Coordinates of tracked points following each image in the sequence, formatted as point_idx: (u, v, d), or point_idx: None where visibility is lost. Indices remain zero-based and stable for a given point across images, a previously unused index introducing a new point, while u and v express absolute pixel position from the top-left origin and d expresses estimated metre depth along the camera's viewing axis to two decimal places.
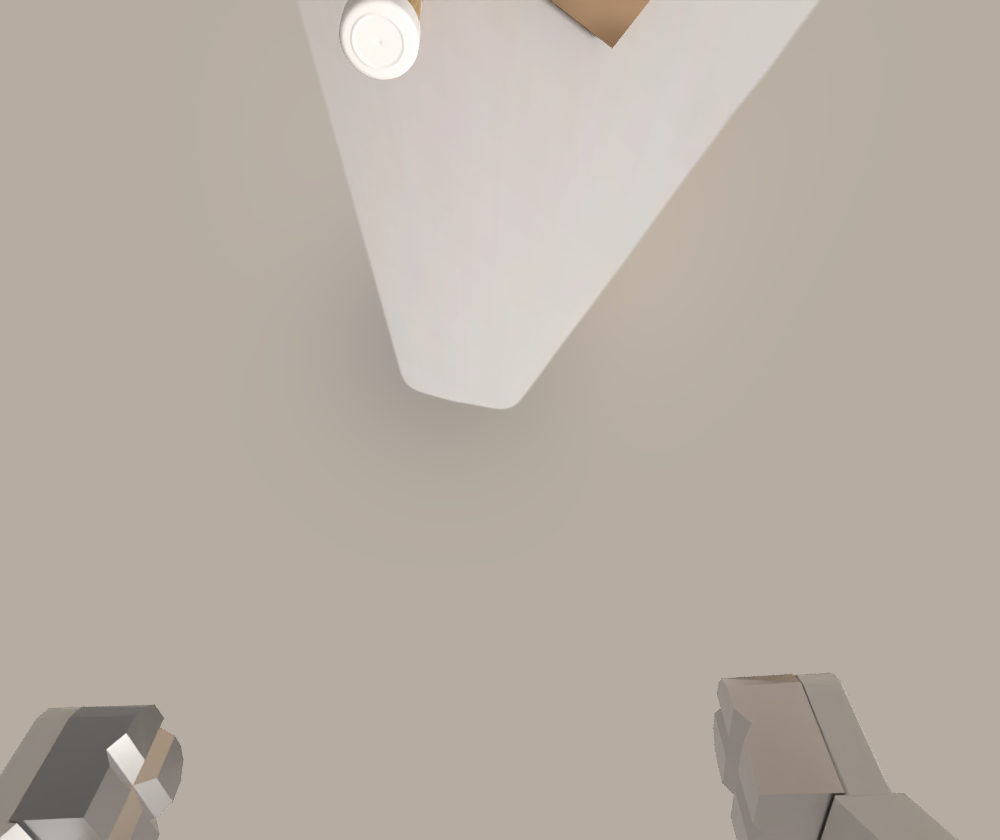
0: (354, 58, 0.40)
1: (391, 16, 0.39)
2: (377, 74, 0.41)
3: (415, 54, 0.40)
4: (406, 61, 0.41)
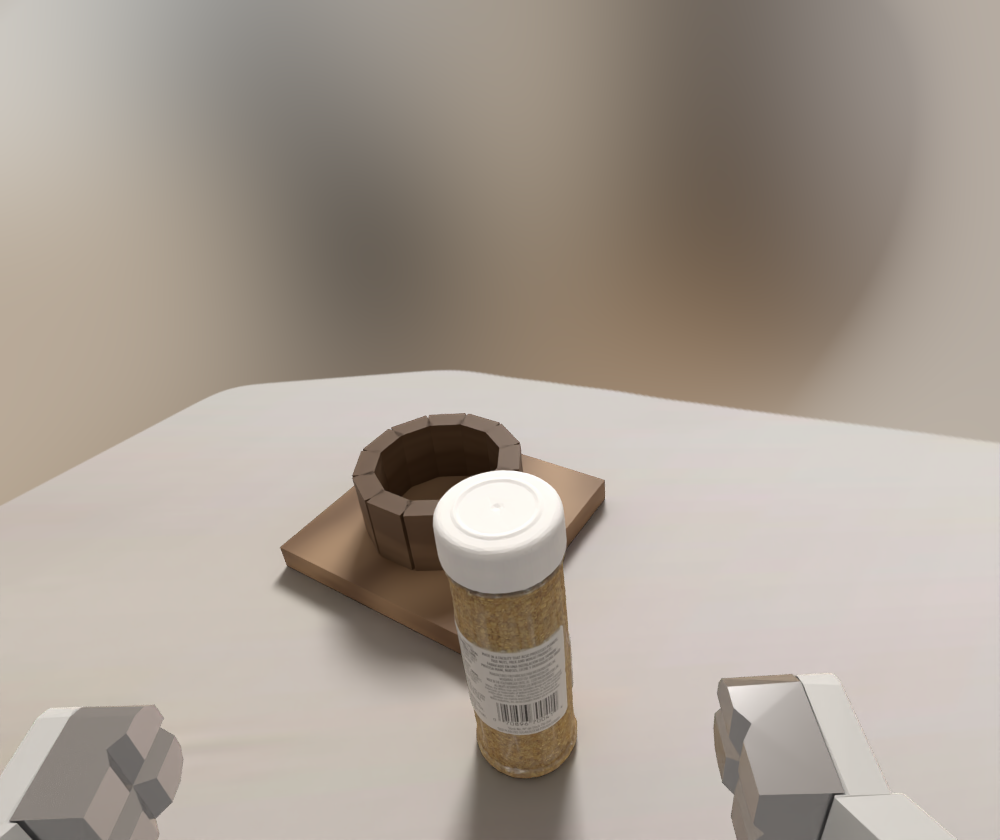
0: (525, 535, 0.22)
1: (457, 493, 0.25)
2: (551, 509, 0.23)
3: (516, 471, 0.25)
4: (526, 477, 0.25)
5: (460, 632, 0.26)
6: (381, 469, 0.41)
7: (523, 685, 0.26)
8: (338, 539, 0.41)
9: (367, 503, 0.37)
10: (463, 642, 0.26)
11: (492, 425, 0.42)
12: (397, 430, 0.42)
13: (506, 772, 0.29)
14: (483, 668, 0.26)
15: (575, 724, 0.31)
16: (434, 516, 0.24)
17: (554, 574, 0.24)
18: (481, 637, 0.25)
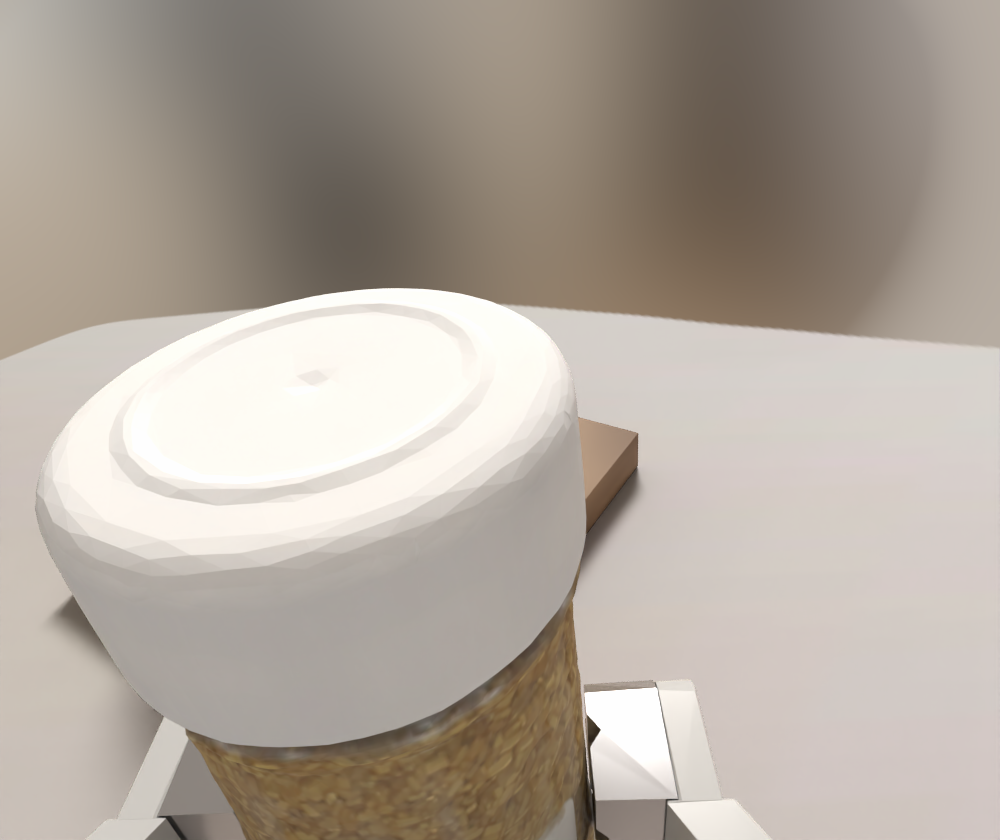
0: (395, 482, 0.05)
1: (190, 348, 0.07)
2: (525, 379, 0.06)
3: None
4: (444, 300, 0.07)
5: None
6: None
7: None
8: None
9: None
10: None
11: None
12: None
13: None
14: None
15: None
16: None
17: (541, 647, 0.06)
18: None
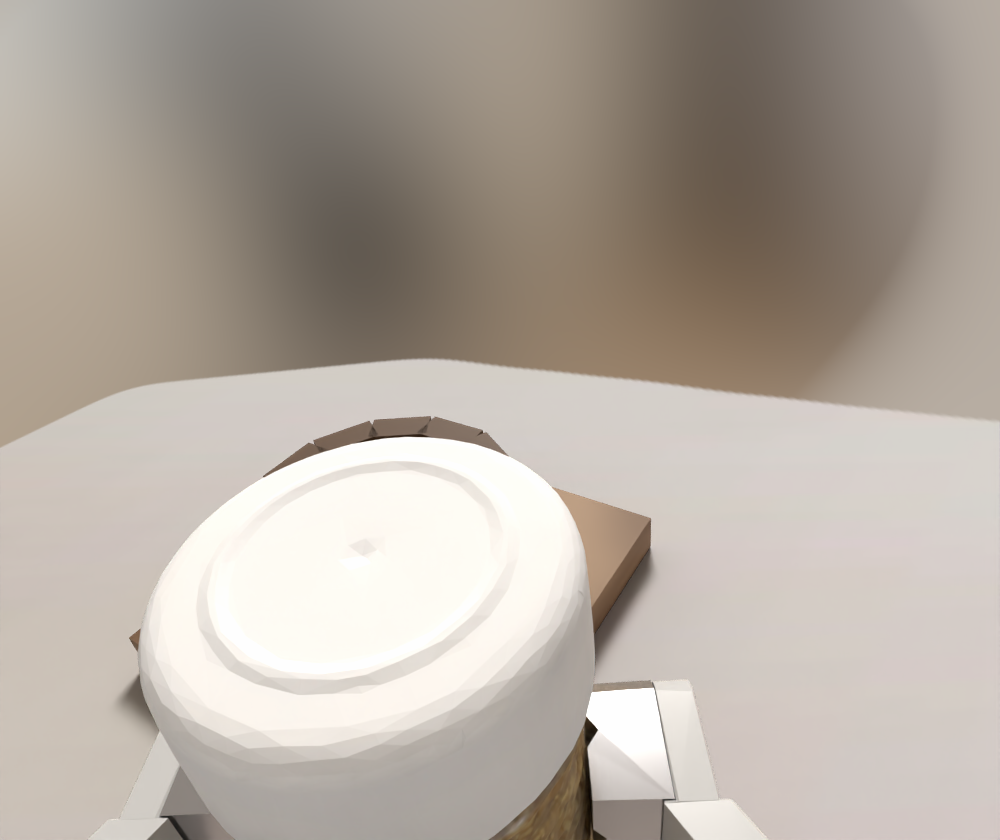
0: (444, 675, 0.06)
1: (252, 508, 0.08)
2: (544, 559, 0.07)
3: (444, 440, 0.09)
4: (470, 456, 0.08)
5: None
6: None
7: None
8: None
9: None
10: None
11: (471, 435, 0.26)
12: (321, 445, 0.27)
13: None
14: None
15: None
16: (156, 586, 0.07)
17: (558, 776, 0.07)
18: None
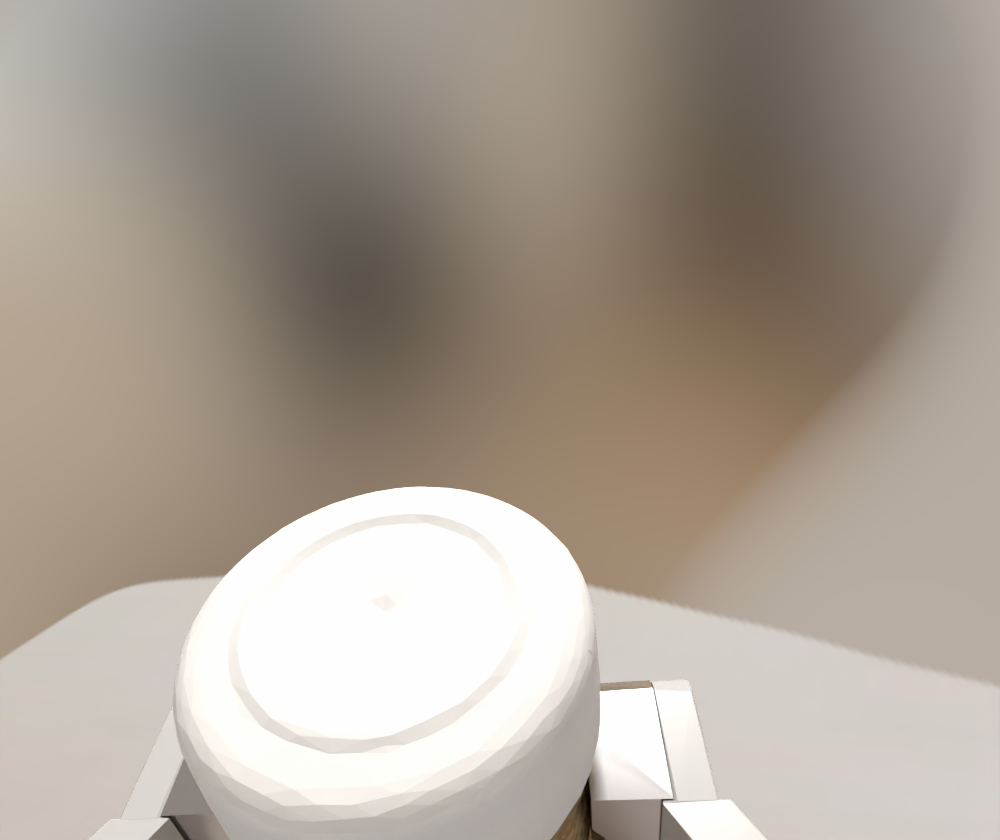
0: (465, 737, 0.06)
1: (276, 559, 0.08)
2: (556, 619, 0.07)
3: (457, 490, 0.09)
4: (483, 509, 0.09)
5: None
6: None
7: None
8: None
9: None
10: None
11: None
12: None
13: None
14: None
15: None
16: (187, 637, 0.08)
17: (565, 819, 0.08)
18: None
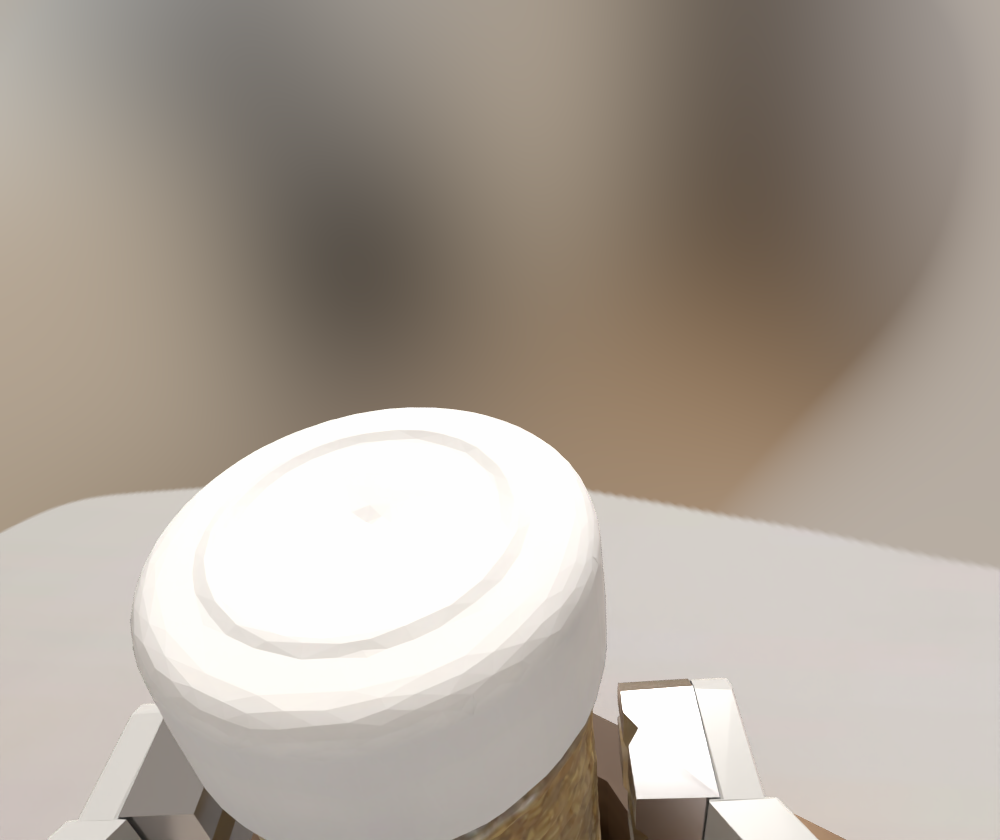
0: (454, 639, 0.05)
1: (251, 475, 0.08)
2: (557, 525, 0.06)
3: None
4: (477, 425, 0.08)
5: None
6: None
7: None
8: None
9: None
10: None
11: None
12: None
13: None
14: None
15: None
16: (151, 553, 0.07)
17: (568, 753, 0.07)
18: None
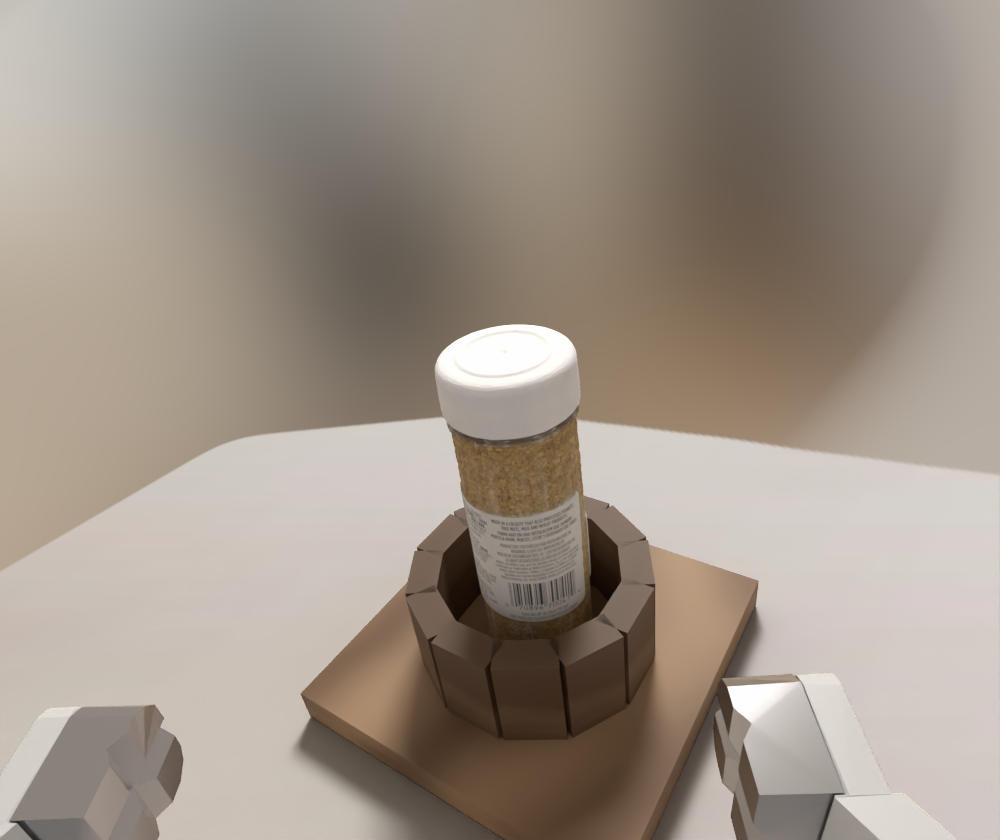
0: (535, 372, 0.21)
1: (461, 344, 0.23)
2: (563, 350, 0.22)
3: None
4: (535, 328, 0.23)
5: (467, 502, 0.24)
6: (444, 577, 0.28)
7: (537, 558, 0.24)
8: (384, 680, 0.28)
9: (431, 644, 0.25)
10: (471, 513, 0.24)
11: (599, 508, 0.29)
12: (463, 517, 0.30)
13: None
14: (493, 540, 0.24)
15: None
16: (436, 365, 0.22)
17: (568, 424, 0.22)
18: (490, 501, 0.23)
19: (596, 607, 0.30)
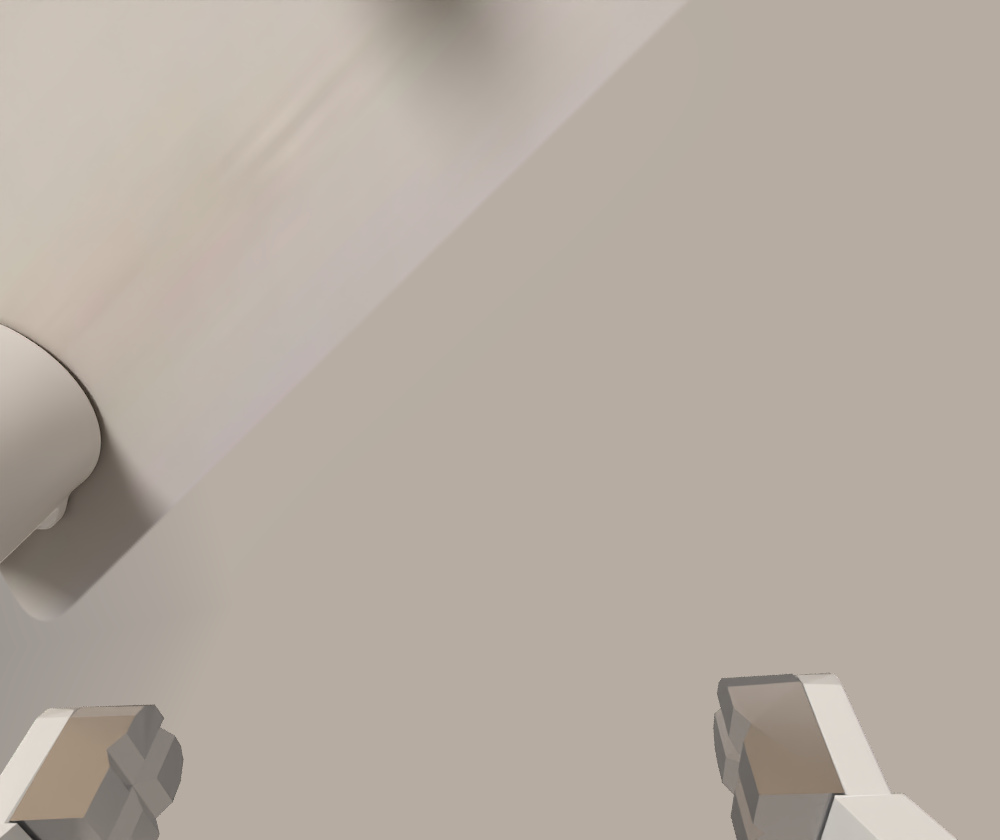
0: None
1: None
2: None
3: None
4: None
5: None
6: None
7: None
8: None
9: None
10: None
11: None
12: None
13: None
14: None
15: None
16: None
17: None
18: None
19: None
